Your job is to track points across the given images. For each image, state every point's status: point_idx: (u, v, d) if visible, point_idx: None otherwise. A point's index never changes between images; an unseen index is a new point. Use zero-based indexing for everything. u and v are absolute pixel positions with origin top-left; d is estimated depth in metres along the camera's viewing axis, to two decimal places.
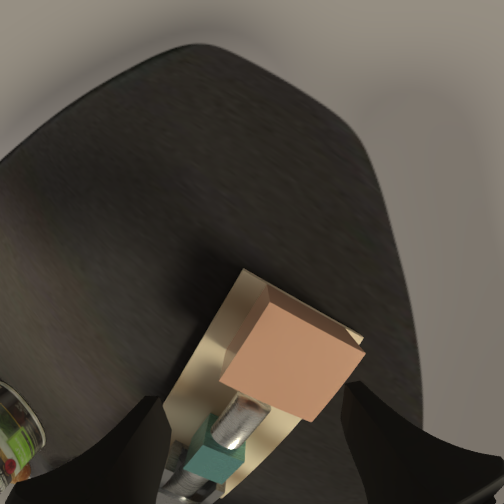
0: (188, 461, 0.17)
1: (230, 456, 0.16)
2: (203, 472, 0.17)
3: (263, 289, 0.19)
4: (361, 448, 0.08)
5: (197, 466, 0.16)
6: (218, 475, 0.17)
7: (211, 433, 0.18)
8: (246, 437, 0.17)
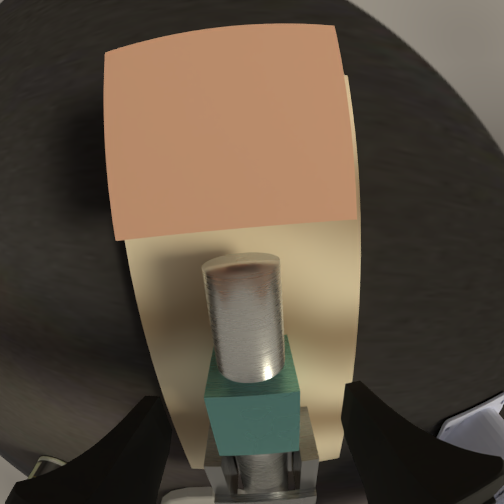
0: None
1: (267, 394, 0.09)
2: (253, 445, 0.10)
3: None
4: (361, 448, 0.08)
5: (234, 441, 0.09)
6: (279, 439, 0.09)
7: (218, 370, 0.10)
8: (274, 341, 0.10)
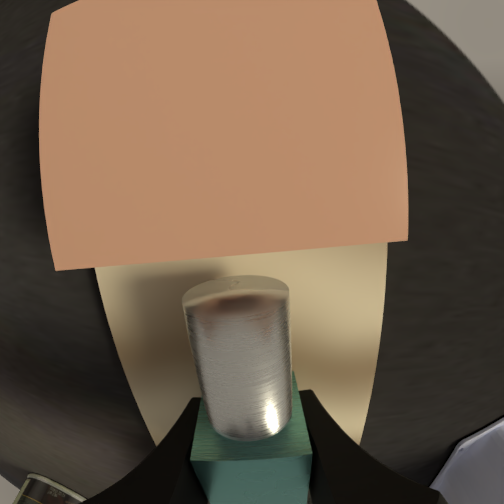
0: None
1: (270, 458, 0.06)
2: (252, 502, 0.07)
3: None
4: None
5: (230, 498, 0.07)
6: (284, 496, 0.07)
7: (209, 422, 0.08)
8: (280, 395, 0.07)
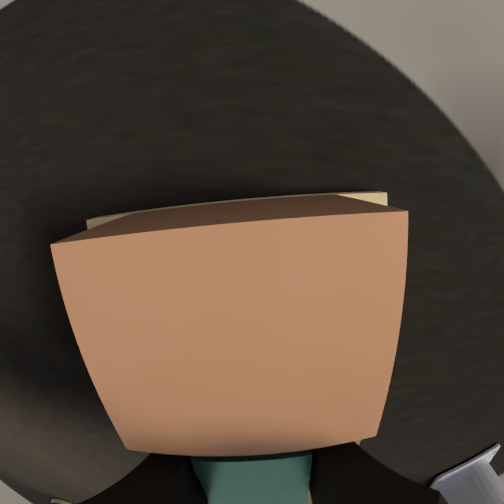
0: None
1: (270, 459, 0.06)
2: (252, 503, 0.07)
3: None
4: None
5: (230, 499, 0.07)
6: (284, 497, 0.07)
7: None
8: None
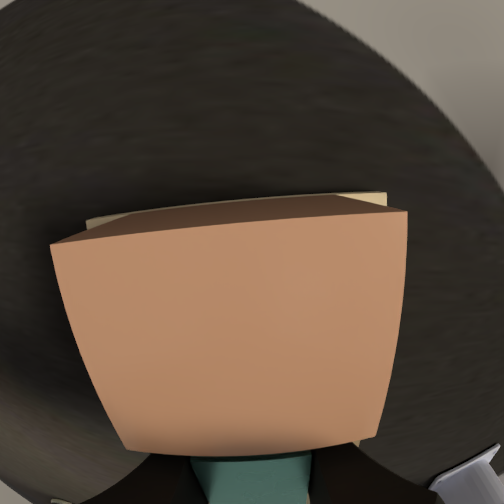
0: None
1: (269, 459, 0.06)
2: (252, 503, 0.07)
3: None
4: None
5: (230, 499, 0.07)
6: (284, 497, 0.07)
7: None
8: None
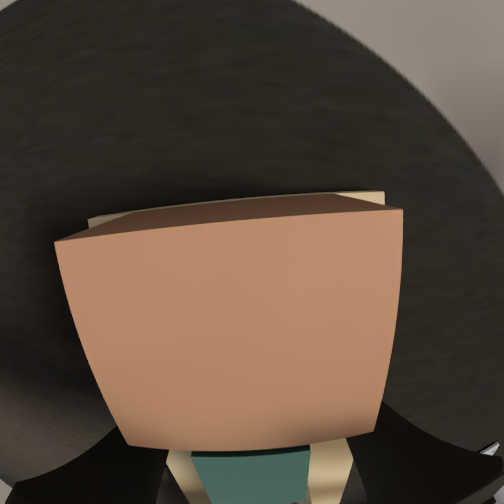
0: None
1: (269, 454, 0.06)
2: (252, 499, 0.07)
3: None
4: (361, 448, 0.08)
5: (230, 495, 0.07)
6: (283, 493, 0.07)
7: None
8: None
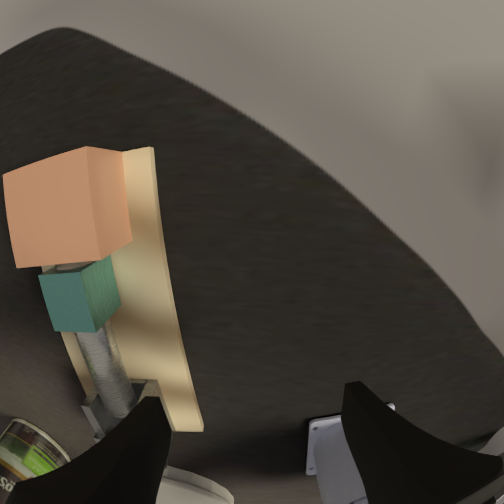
0: (51, 315, 0.14)
1: (64, 273, 0.13)
2: (68, 321, 0.14)
3: None
4: (361, 448, 0.08)
5: (58, 315, 0.14)
6: (80, 317, 0.14)
7: (55, 265, 0.15)
8: None
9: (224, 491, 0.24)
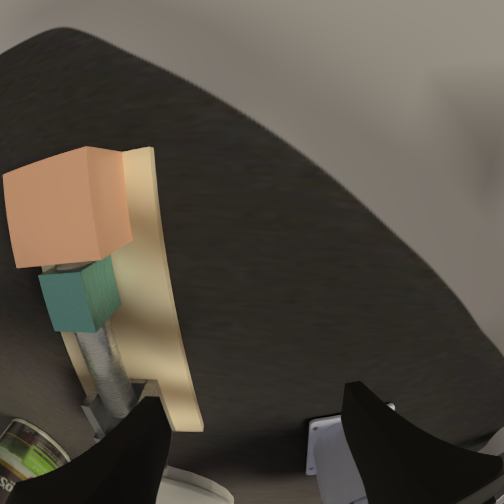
0: (51, 315, 0.14)
1: (64, 273, 0.13)
2: (68, 321, 0.14)
3: None
4: (361, 448, 0.08)
5: (58, 315, 0.14)
6: (80, 317, 0.14)
7: (55, 265, 0.15)
8: None
9: (224, 491, 0.24)
